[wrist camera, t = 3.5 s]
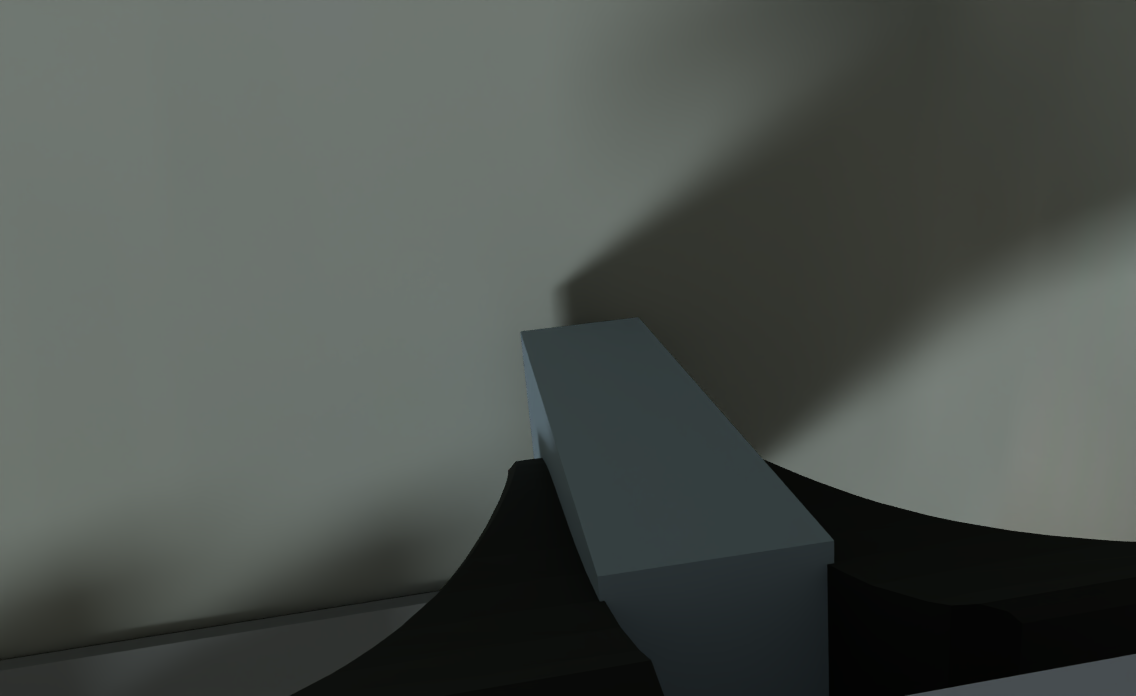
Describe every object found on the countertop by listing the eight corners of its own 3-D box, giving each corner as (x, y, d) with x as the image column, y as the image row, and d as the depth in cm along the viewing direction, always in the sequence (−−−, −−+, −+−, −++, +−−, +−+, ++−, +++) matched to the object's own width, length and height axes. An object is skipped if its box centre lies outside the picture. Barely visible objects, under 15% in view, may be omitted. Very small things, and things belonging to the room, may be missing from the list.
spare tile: (638, 317, 13) (833, 540, 7) (655, 573, 14) (835, 979, 8) (520, 331, 13) (598, 577, 6) (548, 589, 14) (637, 1019, 8)
